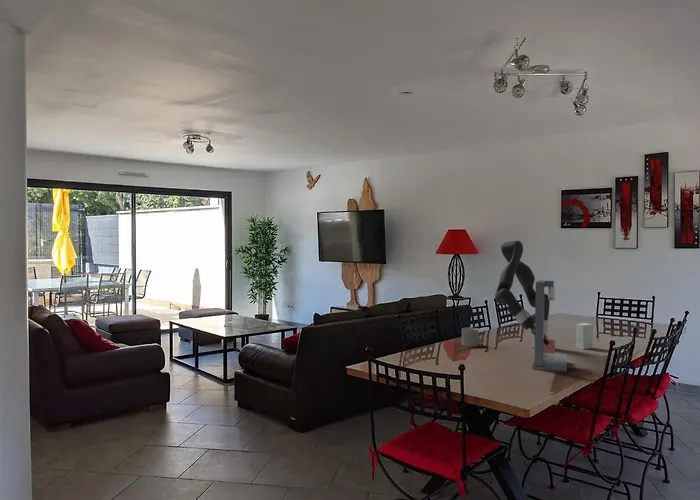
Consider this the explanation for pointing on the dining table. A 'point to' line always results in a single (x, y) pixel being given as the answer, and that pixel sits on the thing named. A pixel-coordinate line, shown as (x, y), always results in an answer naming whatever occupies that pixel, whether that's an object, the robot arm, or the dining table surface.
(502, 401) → the dining table surface
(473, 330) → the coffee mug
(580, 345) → the skincare box
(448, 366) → the dining table surface
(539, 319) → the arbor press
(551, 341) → the pink block
